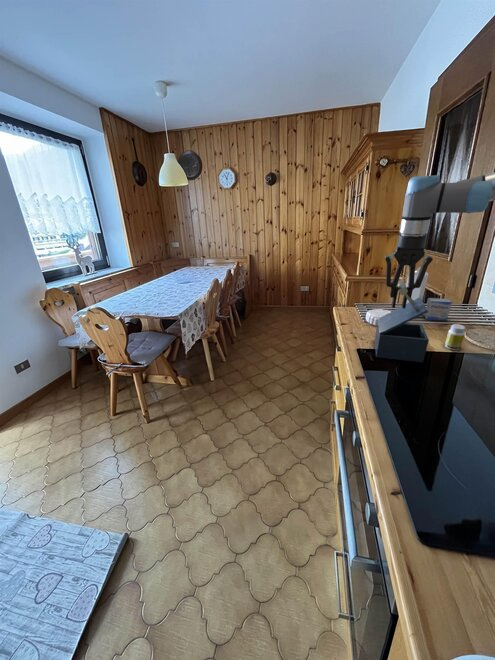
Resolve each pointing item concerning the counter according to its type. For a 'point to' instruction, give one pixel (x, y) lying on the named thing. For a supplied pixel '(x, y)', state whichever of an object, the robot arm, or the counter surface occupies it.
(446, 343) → the supplement bottle
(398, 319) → the compartment lid
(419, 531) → the counter surface
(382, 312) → the mooncake
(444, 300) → the medicine box
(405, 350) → the compartment
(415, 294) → the milk
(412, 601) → the counter surface
